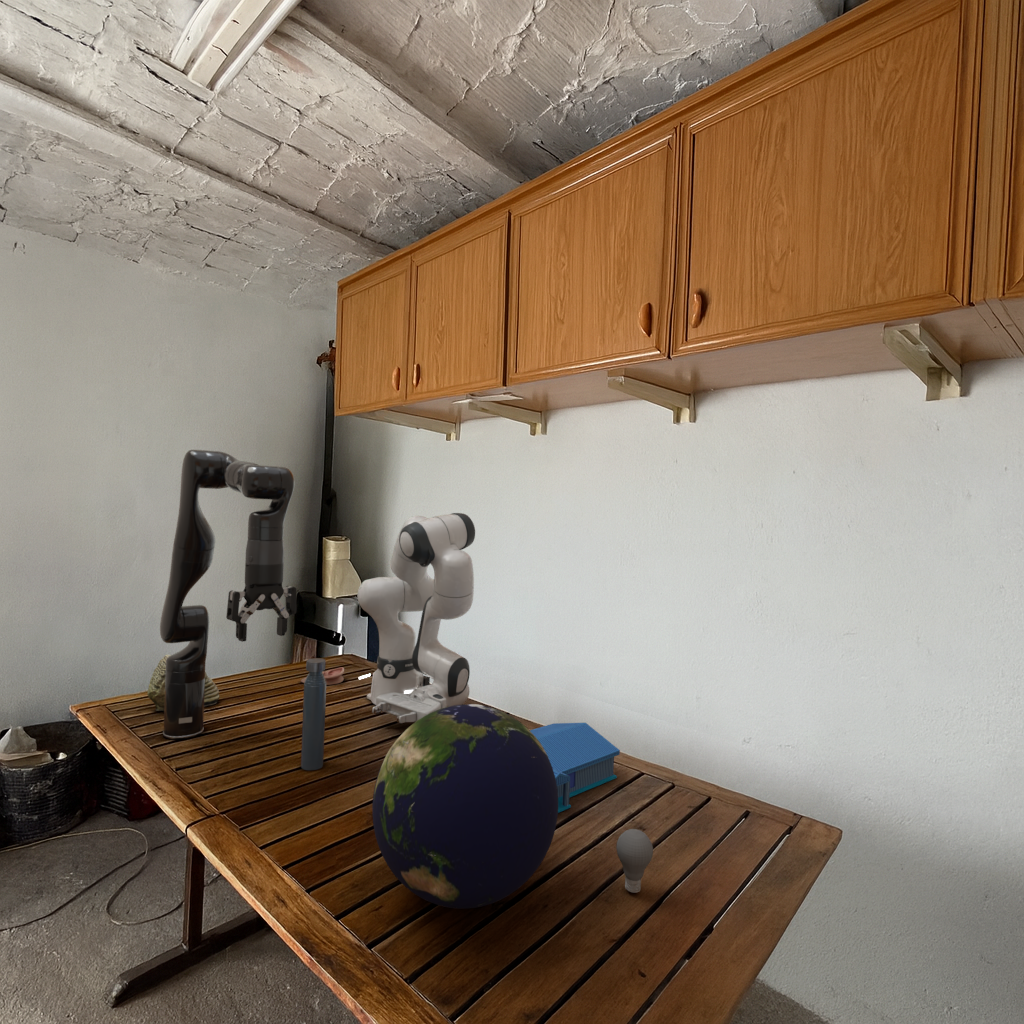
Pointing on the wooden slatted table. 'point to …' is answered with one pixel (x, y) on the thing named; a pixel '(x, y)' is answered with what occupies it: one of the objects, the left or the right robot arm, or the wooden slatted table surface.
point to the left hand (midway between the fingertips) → (261, 637)
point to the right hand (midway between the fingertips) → (386, 715)
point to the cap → (315, 665)
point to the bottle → (313, 721)
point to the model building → (576, 758)
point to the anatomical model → (332, 676)
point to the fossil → (158, 687)
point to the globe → (465, 806)
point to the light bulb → (634, 857)
